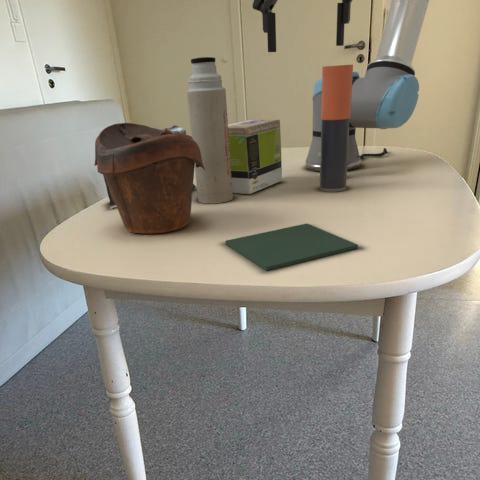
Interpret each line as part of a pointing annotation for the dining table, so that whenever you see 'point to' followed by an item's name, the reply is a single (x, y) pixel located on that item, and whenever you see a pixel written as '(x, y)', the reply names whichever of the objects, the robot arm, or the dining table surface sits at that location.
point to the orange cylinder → (336, 92)
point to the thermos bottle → (210, 131)
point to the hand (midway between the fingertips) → (304, 49)
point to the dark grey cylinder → (334, 155)
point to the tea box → (255, 155)
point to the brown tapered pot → (148, 175)
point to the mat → (289, 246)
